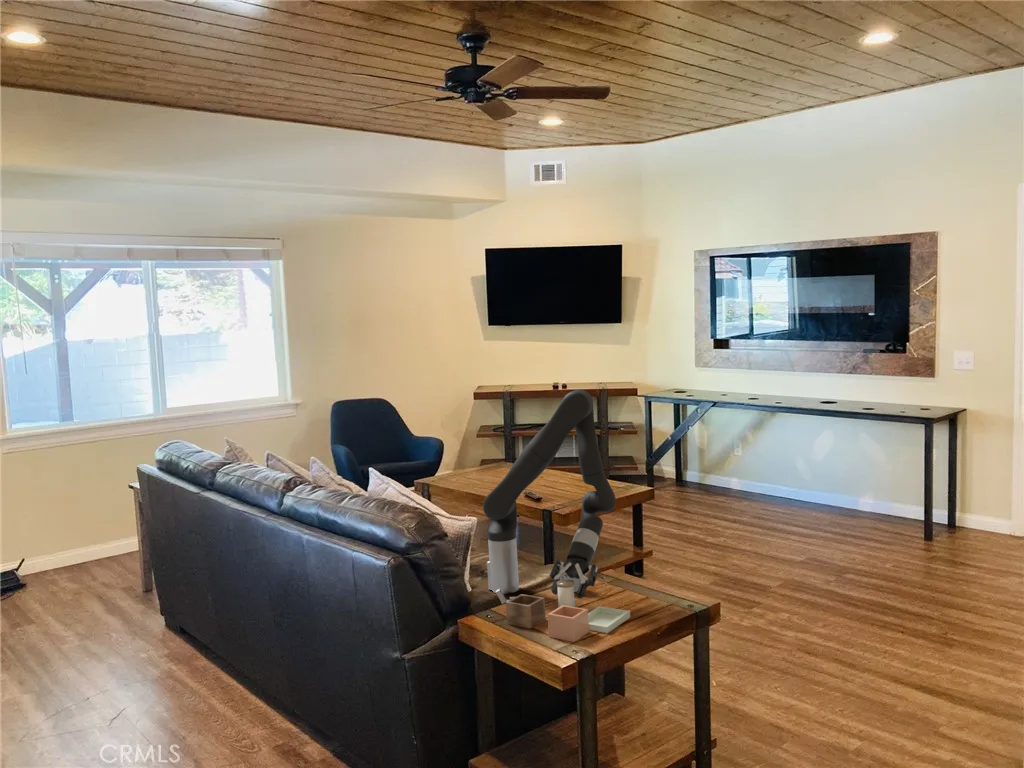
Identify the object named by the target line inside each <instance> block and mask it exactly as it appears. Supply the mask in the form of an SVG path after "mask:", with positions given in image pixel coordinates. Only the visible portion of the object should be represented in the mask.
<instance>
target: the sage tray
mask: <svg viewBox="0 0 1024 768" xmlns="http://www.w3.org/2000/svg"><path fill="white" fill-rule="evenodd" d="M630 618H631V611H630V610H626V609H618V608H613V607H607V606H601V605H599V606H597V607H595V608H594V609H592V610H590V611H588V619H589V632H590V631H592V632H597V633H601V634H602V633H603V634H609V633H610V632H612V631H613V630H614V629H616V628H617V627H619V626H620V625H621V624H623V623H624V622H625V621H627V620H628V619H630Z"/></svg>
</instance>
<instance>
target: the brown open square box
mask: <svg viewBox="0 0 1024 768" xmlns="http://www.w3.org/2000/svg"><path fill="white" fill-rule="evenodd" d="M514 597H515V598H513V599H511V600H510V599H508V600H509V601H507V602H505V609H506V611H505V612H506V613H505V614H506V624H507V625H509V626H510V625H511V626H516V627H521V628H527V629H532V628H534V627H535V626H537V625H538V624H540V623H542V622H543V621H545V620H546V602H545V601H546V600H545V597H541V596H537V595H528V594H522V593H521V594H519V595H517V596H514Z"/></svg>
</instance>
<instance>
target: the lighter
mask: <svg viewBox="0 0 1024 768" xmlns="http://www.w3.org/2000/svg"><path fill="white" fill-rule="evenodd" d="M495 594H496V595H497V597H498V599H499V600H500V602H501V604H502V605H504V604H506V602H507V601H509V600H511V599H513V598H515V597H516V596H509V599H507V598H506V597H505V594H503V593H502V591H501V590H500V588H499V589H497V590H496V593H495Z"/></svg>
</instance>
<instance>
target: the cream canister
mask: <svg viewBox="0 0 1024 768" xmlns="http://www.w3.org/2000/svg"><path fill="white" fill-rule="evenodd" d="M557 588H558V593H557V601H558V602H557V606H558V608H559V607H560V606H562V605H565V606H571V607H576V604H575V602H576V601H575V593H574V581H573V580H559V581H557Z"/></svg>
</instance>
